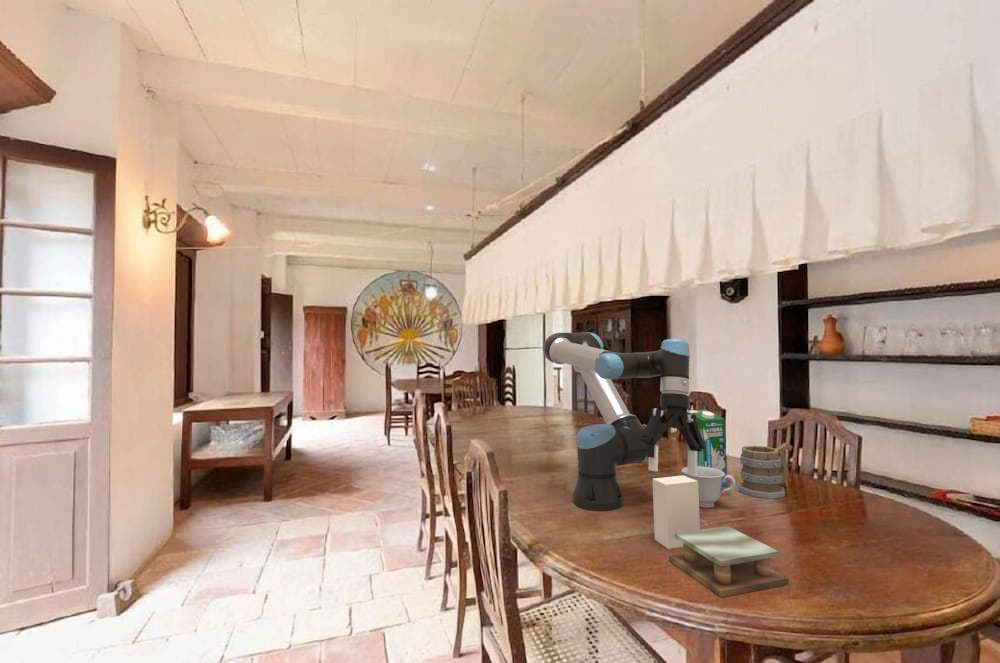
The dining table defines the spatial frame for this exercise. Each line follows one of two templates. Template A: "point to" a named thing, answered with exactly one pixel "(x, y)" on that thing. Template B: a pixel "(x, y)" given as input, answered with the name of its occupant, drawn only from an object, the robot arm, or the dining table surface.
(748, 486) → the tankard
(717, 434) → the milk carton
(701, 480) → the teacup
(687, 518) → the cream rectangular block
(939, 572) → the dining table surface
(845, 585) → the dining table surface
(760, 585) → the peg shelf
